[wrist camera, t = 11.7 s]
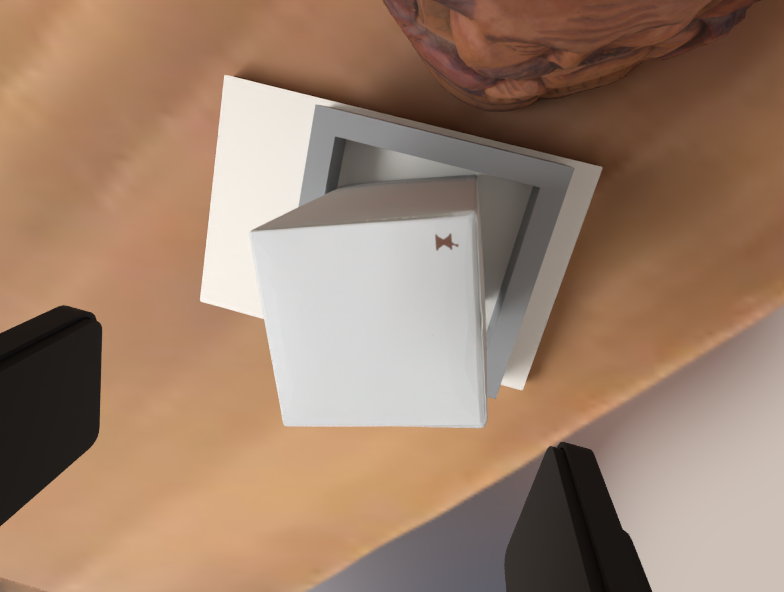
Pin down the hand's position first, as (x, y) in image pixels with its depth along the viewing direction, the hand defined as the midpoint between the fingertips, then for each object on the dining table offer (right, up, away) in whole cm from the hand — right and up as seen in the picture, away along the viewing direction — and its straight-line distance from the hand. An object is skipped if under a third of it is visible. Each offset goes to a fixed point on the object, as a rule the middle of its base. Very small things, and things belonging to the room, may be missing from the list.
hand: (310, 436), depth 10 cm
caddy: (+1, +6, +19) cm, 20 cm away
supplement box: (+3, +6, +18) cm, 19 cm away
